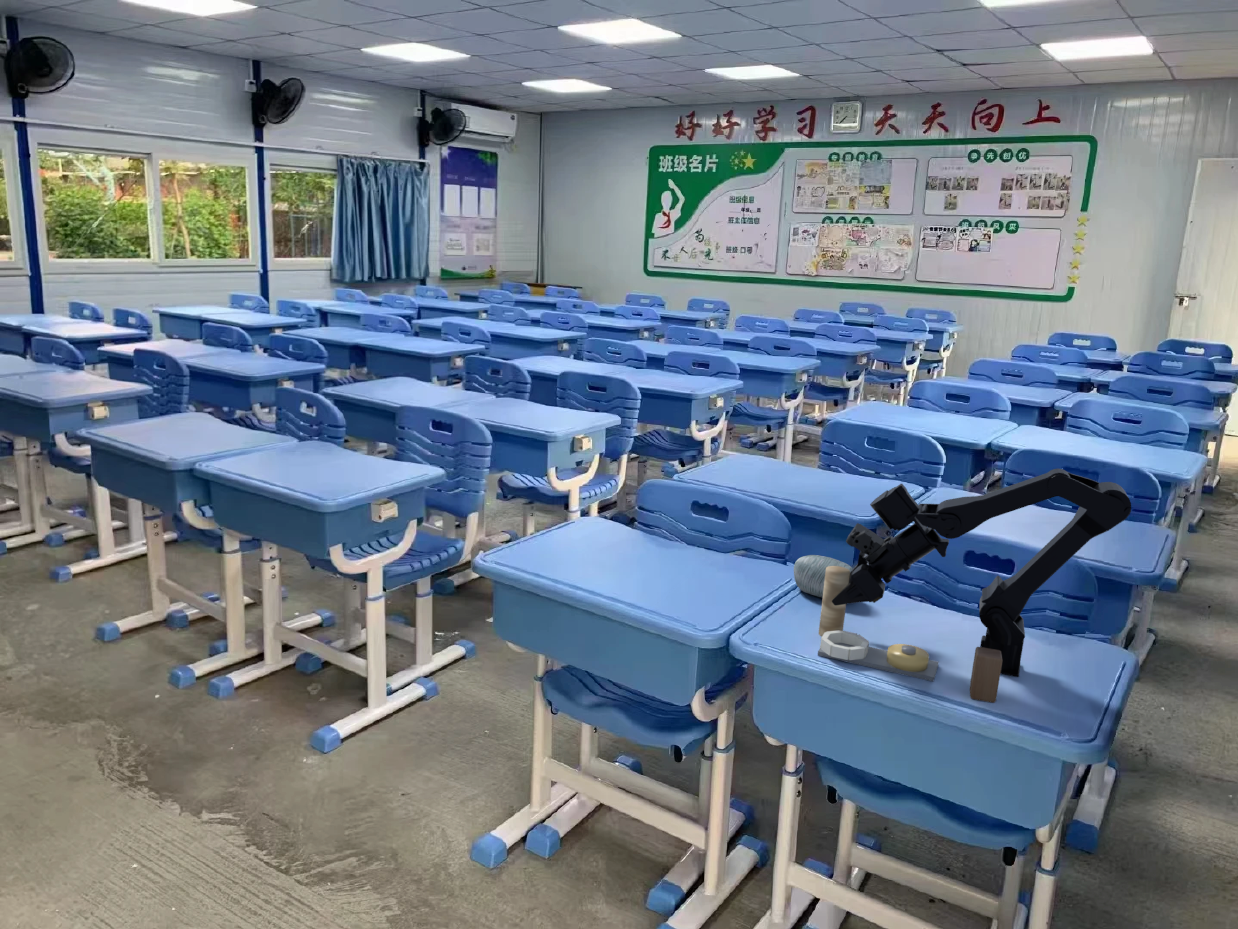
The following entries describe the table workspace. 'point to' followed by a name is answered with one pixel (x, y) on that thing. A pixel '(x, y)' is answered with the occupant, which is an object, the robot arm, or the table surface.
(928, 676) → the board
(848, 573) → the peg
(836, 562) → the grey streaked oval stone
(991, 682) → the wooden block
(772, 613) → the table surface
